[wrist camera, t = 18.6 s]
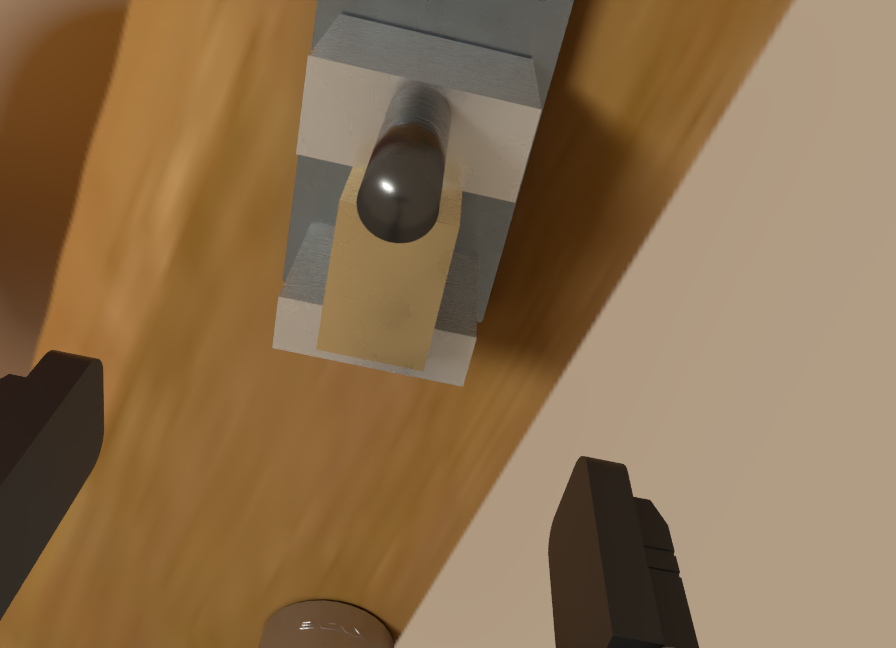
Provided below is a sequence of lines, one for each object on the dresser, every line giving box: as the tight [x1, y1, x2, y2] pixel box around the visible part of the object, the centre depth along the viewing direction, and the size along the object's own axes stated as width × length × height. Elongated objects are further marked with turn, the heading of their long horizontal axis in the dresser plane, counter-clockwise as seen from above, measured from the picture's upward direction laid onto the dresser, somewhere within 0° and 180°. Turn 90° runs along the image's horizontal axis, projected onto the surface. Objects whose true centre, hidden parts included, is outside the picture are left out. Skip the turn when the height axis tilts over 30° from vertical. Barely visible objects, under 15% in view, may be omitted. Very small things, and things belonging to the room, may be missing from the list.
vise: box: [272, 0, 574, 387], centre depth 33 cm, size 18×10×8 cm, turn 168°
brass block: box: [316, 167, 462, 371], centre depth 32 cm, size 4×6×10 cm, turn 168°
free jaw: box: [296, 14, 542, 243], centre depth 28 cm, size 4×8×14 cm, turn 78°
